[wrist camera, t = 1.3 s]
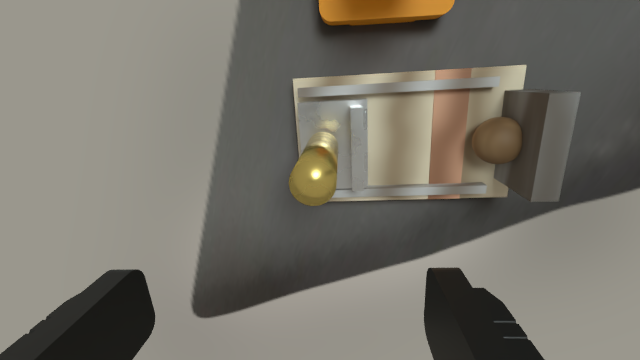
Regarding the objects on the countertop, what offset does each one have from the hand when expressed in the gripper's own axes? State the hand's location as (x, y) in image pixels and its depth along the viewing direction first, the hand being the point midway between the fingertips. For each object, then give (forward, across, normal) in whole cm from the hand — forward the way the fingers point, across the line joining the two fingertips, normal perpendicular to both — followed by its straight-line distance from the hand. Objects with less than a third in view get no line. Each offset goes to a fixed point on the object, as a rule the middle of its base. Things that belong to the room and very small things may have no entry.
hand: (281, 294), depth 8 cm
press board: (+24, -8, 0) cm, 25 cm away
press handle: (+21, -1, 0) cm, 21 cm away
